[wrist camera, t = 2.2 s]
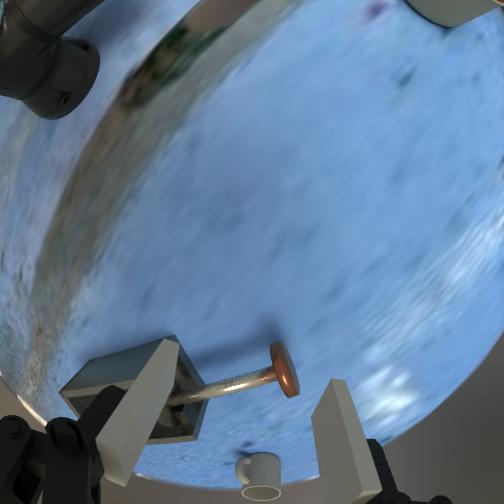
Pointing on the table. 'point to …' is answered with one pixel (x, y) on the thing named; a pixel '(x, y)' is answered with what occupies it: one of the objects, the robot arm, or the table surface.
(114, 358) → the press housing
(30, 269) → the table surface
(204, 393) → the plunger
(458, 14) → the canister
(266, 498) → the cup
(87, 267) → the table surface
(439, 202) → the table surface
